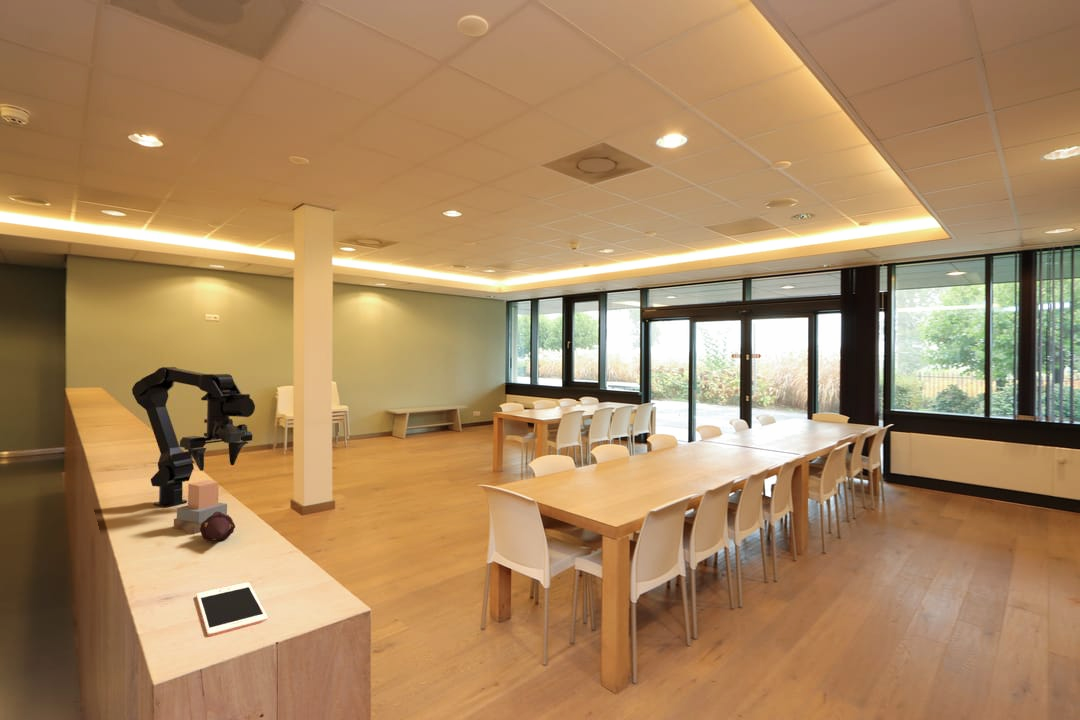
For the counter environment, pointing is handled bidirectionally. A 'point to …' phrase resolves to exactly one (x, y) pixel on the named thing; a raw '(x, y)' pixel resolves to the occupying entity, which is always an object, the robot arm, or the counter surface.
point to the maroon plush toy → (217, 527)
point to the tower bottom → (187, 526)
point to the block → (203, 494)
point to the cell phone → (230, 608)
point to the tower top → (199, 512)
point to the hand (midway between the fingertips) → (217, 467)
